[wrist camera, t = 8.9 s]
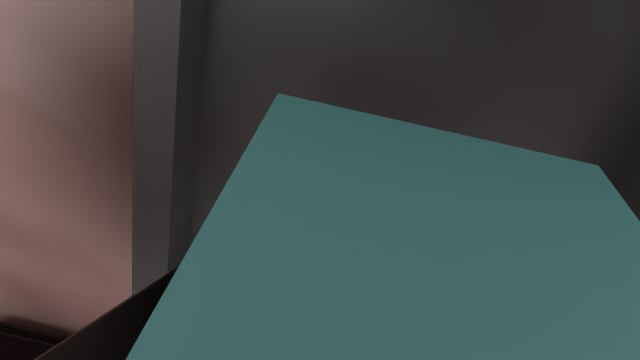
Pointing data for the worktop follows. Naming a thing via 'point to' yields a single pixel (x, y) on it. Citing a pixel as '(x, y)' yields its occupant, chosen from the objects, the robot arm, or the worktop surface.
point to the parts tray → (370, 88)
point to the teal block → (401, 251)
